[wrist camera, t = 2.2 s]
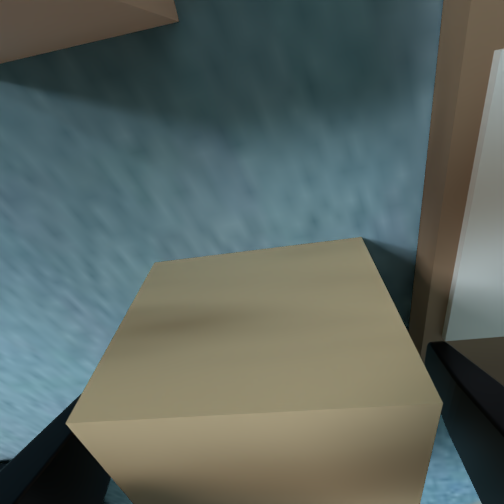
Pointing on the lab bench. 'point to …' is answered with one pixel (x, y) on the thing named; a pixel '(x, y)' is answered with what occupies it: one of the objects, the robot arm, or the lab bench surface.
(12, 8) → the terracotta block
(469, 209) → the board
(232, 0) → the lab bench surface
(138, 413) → the oak block
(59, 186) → the lab bench surface
